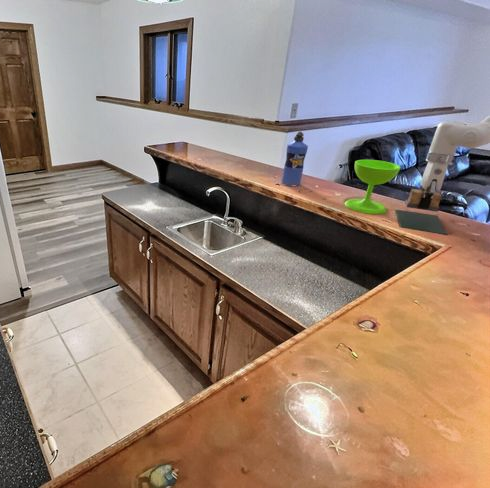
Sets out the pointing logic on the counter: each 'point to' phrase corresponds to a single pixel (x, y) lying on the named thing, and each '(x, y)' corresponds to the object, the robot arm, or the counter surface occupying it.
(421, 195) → the eraser
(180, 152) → the counter surface
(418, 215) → the chalkboard
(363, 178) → the wineglass
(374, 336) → the counter surface
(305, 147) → the water bottle
